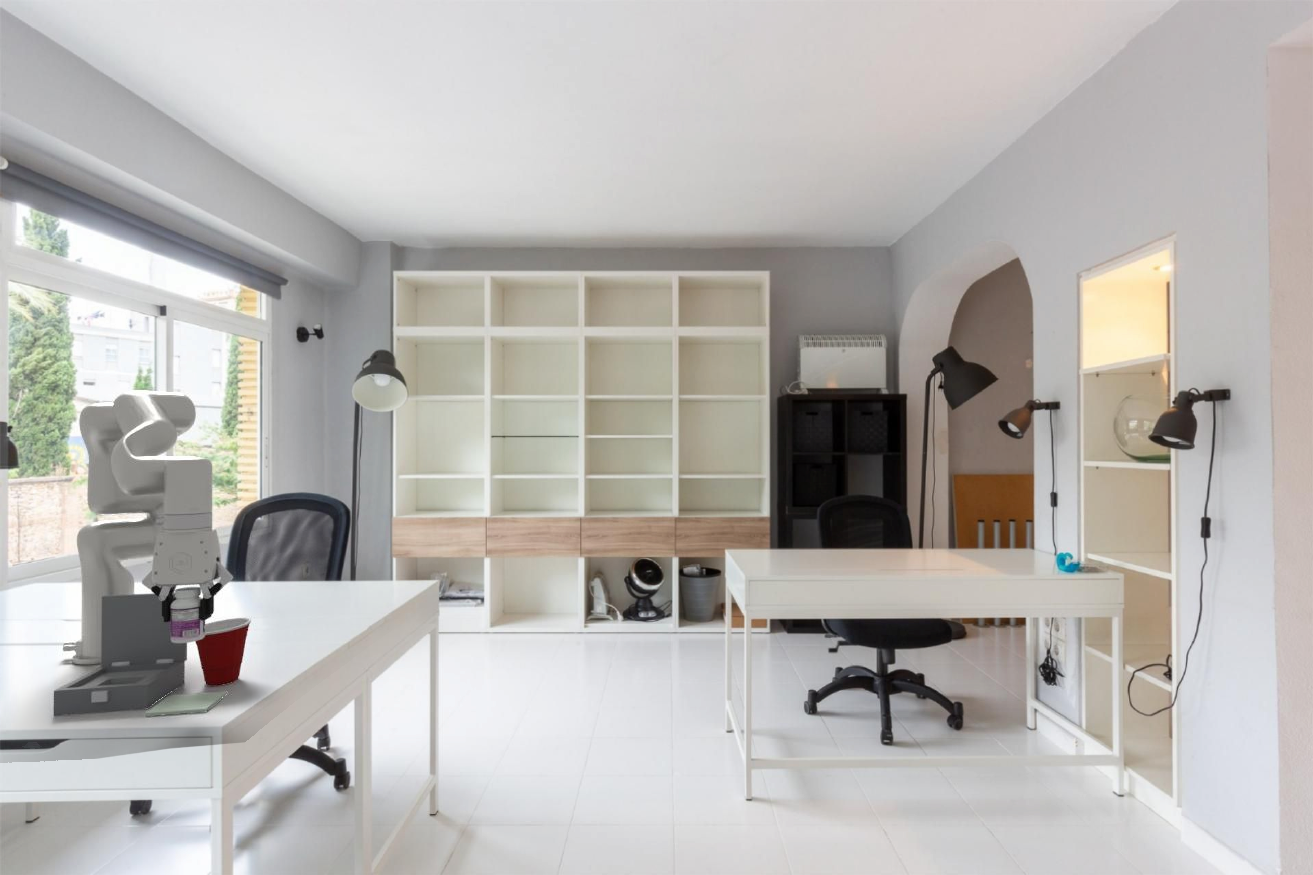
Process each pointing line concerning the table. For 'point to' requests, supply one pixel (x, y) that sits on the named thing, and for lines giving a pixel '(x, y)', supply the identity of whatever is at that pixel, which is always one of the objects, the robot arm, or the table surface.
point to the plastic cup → (223, 650)
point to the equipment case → (128, 660)
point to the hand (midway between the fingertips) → (188, 618)
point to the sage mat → (186, 703)
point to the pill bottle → (186, 616)
